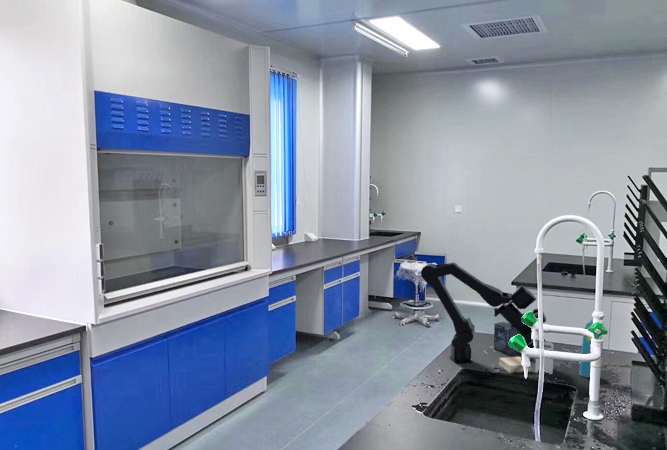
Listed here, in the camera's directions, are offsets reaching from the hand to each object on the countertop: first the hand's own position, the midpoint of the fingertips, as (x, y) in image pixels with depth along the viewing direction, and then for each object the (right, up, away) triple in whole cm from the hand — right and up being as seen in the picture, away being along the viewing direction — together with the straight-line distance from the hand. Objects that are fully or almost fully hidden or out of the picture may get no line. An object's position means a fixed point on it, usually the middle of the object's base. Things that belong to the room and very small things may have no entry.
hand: (547, 351), depth 178 cm
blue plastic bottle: (+12, -8, -4) cm, 15 cm away
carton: (-1, -7, +1) cm, 7 cm away
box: (-7, -6, +22) cm, 24 cm away
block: (-10, -7, +4) cm, 13 cm away
